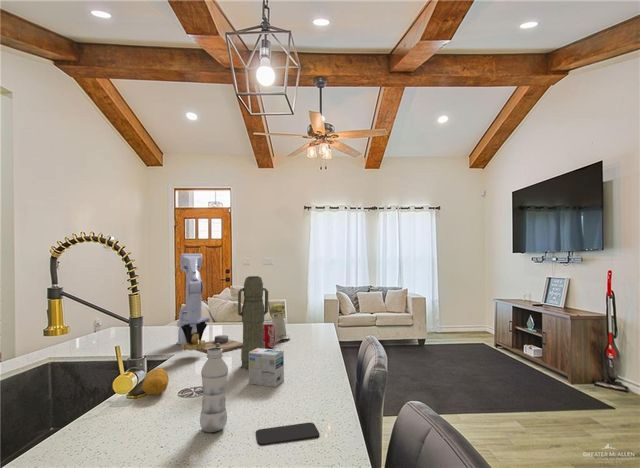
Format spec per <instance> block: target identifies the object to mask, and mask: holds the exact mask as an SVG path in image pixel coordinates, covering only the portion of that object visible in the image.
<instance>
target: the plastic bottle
mask: <svg viewBox="0 0 640 468" xmlns="http://www.w3.org/2000/svg"><path fill="white" fill-rule="evenodd" d="M223 357H224V354H223V353H222V348H210V349H208V350H207V352H206V358H207V360H206V361H205V363H204V364H203V366H202V368H201V383H202V384H201V385H202V406H201V412H200V417H199V424H200V428H201V430H202V431H204V432H206V433H215V432H218V431H221V430H223V429H224V428H225V426H226V425H227V421H228V412H227V408H226V407H227V406H226V386H227V379H228V373H229V367H228V364H226V362H225V361H224V359H223Z"/></svg>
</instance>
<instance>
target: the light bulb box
mask: <svg viewBox="0 0 640 468" xmlns="http://www.w3.org/2000/svg"><path fill="white" fill-rule="evenodd" d="M284 352H285V351H284V350H283V349H274V348H273V349H261V348H257V349H255V350H253V351H250V352H249V369H248V383H247V384H250V385H257V386H264V387H271V388H273V387H274V388H277V387H278V386H279V385H281V384H282V383H283V382H284V381H285V353H284Z"/></svg>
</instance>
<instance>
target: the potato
mask: <svg viewBox="0 0 640 468" xmlns="http://www.w3.org/2000/svg"><path fill="white" fill-rule="evenodd" d="M145 376H146V378H145V377H144V378H145V379H144V378H143V380H142V382H141V383H142V384H141V389H142V391H143V392H145V393H146V394H147V395H150V396H157V395H161V393H163V392H165V391H166V390H167V387H168V385H169V381H170V380H169V375H168V373H167V371H166V370H164V368H161V367H158V368H154V369H152V370H151V371H148V372H147V373H146V375H145Z"/></svg>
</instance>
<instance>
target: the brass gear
mask: <svg viewBox="0 0 640 468" xmlns="http://www.w3.org/2000/svg"><path fill="white" fill-rule="evenodd" d="M206 342H207V341H206V340H204V339H201V341H199V332H191V343H187V342H182V343H181V345H180V346H181V347H180V348H181V350H183V351H185V350H186V351H193V350H194V351H196V350H198V351H201V350H200V349H202V348H205V347H206Z"/></svg>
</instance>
